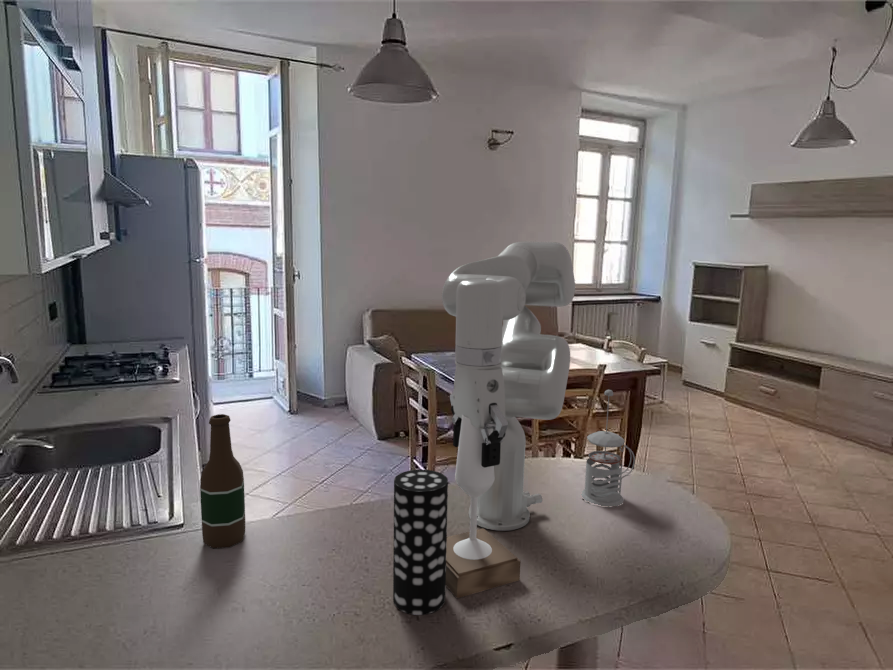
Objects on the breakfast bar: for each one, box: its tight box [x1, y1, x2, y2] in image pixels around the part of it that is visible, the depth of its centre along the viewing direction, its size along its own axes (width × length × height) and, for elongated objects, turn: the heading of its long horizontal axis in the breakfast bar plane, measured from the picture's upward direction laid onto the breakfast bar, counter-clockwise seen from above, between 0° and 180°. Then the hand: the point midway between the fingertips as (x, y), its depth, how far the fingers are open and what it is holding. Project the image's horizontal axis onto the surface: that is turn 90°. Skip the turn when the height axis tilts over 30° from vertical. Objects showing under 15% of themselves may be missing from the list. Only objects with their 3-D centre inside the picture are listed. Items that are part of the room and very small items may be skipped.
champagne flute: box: [453, 414, 495, 560], centre depth 99 cm, size 7×7×24 cm
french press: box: [581, 389, 636, 507], centre depth 130 cm, size 10×12×25 cm
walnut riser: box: [446, 527, 522, 599], centre depth 101 cm, size 12×12×4 cm
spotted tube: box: [392, 469, 449, 616], centre depth 92 cm, size 8×8×20 cm
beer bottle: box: [199, 413, 246, 550], centre depth 108 cm, size 8×8×24 cm
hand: (475, 455), depth 99 cm, fingers open, 9 cm apart
